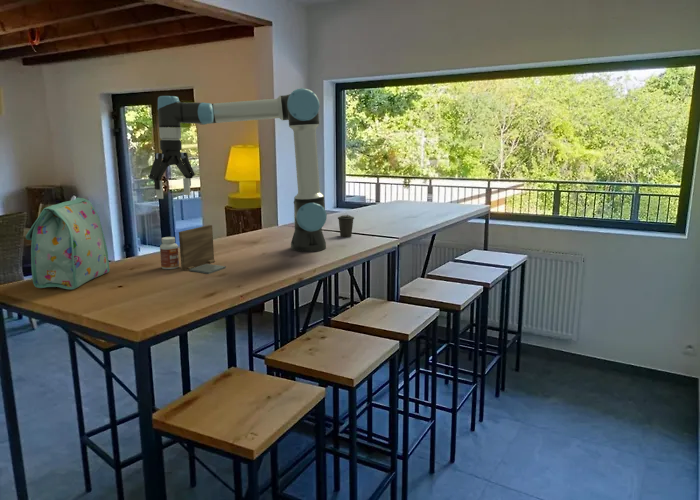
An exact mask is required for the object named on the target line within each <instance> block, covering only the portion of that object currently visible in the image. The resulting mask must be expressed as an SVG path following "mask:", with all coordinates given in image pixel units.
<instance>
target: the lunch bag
mask: <svg viewBox="0 0 700 500" xmlns="http://www.w3.org/2000/svg"><path fill="white" fill-rule="evenodd" d="M25 240H28V241H31V243H30V244H31V246H30V255H31V256H30V260H31V262H30V263H31V265H30V266H31V279H32V284H33V286H34V288H37V289H43V288H44V289H46V288H56V287H57V288H59V289H63V290H75V289H77V288H79V287H81V286H82V285H84V284H85V283H87V282H90V281H91V280H93V279H96V278H98V277H101V276H103V275H105V274H108V273H109V272H110V270H111V269H110V264H109V263H110V260H109V252H108V246H107V243H106V239H105V236H104V231H103V227H102V222H101V219H100V217H99V214H98V212H97V211H96V209H95V207H94V206H93V203H91V201H90V200H89V199H86V198H83V197H76V198H75V199H72V200H68V201H63V202H60V203H57V204H52V205H50V206H47V207H44V208H43V209H42V211H41V212H40V213H39V216H38V217H37V218H36V220H35V221H34V223H33V224H32V225H31V227H30V229H28V231H27V233H26V234H25Z"/></svg>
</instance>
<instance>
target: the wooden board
mask: <svg viewBox="0 0 700 500" xmlns="http://www.w3.org/2000/svg"><path fill="white" fill-rule="evenodd" d="M213 231H214V230H213V225H212V224H208V225H207V224H206V225H203V226H198V227H194V228H190V229H185V230H182V231H178V238H179V239H178V241H179V252H180V254H179V255H180V269H181V271H189V269H192V268H195V267H198V266H201V265H204V264H213V263H215V262H216V261H215V252H214V251H215V248H214V247H215V246H214V232H213Z"/></svg>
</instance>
